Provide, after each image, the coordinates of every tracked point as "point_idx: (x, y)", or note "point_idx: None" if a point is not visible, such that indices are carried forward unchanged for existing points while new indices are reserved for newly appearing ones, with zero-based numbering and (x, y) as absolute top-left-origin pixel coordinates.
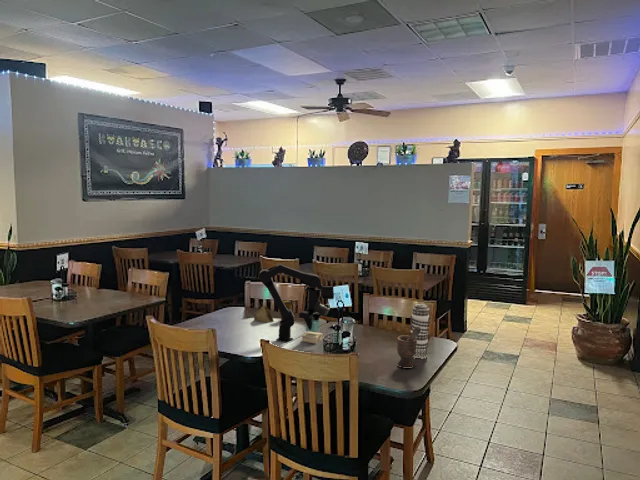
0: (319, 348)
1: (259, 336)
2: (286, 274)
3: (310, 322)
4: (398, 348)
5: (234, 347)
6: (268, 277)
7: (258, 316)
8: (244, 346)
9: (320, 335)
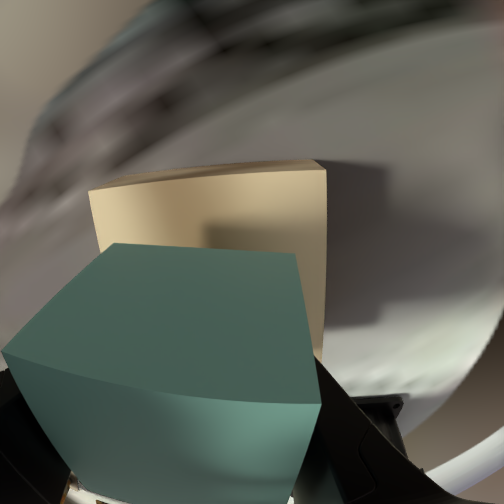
0: (441, 70)
1: None
2: None
3: (403, 468)
4: None
5: (490, 464)
6: None
7: None
8: (480, 458)
9: (165, 179)
